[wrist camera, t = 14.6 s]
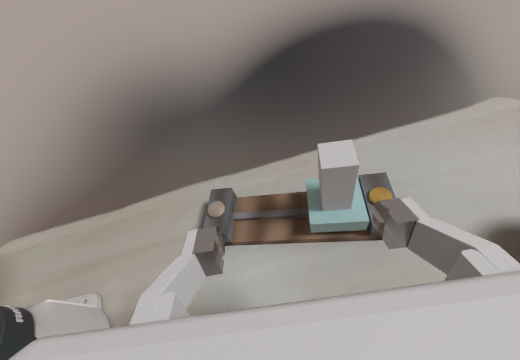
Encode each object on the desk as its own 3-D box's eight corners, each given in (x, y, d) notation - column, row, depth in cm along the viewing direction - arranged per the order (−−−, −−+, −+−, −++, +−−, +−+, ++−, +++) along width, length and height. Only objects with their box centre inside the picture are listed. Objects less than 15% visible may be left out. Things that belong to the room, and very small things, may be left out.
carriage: (310, 232, 34) (304, 185, 24) (307, 189, 39) (300, 135, 29) (366, 230, 32) (384, 177, 22) (355, 185, 37) (365, 125, 27)
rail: (213, 246, 40) (199, 233, 35) (221, 203, 45) (209, 187, 41) (396, 239, 33) (406, 223, 29) (379, 189, 39) (386, 170, 34)
